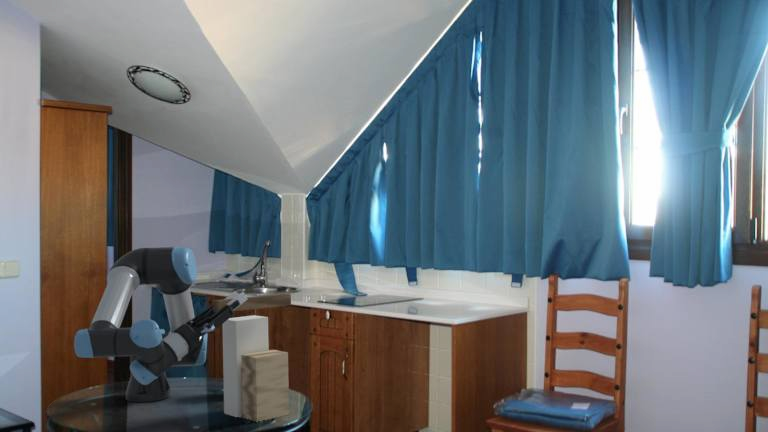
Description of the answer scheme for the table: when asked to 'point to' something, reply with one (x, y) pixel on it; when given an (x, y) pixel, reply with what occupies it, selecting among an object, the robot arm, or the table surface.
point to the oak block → (265, 385)
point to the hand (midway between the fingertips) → (241, 295)
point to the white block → (237, 341)
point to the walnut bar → (256, 302)
